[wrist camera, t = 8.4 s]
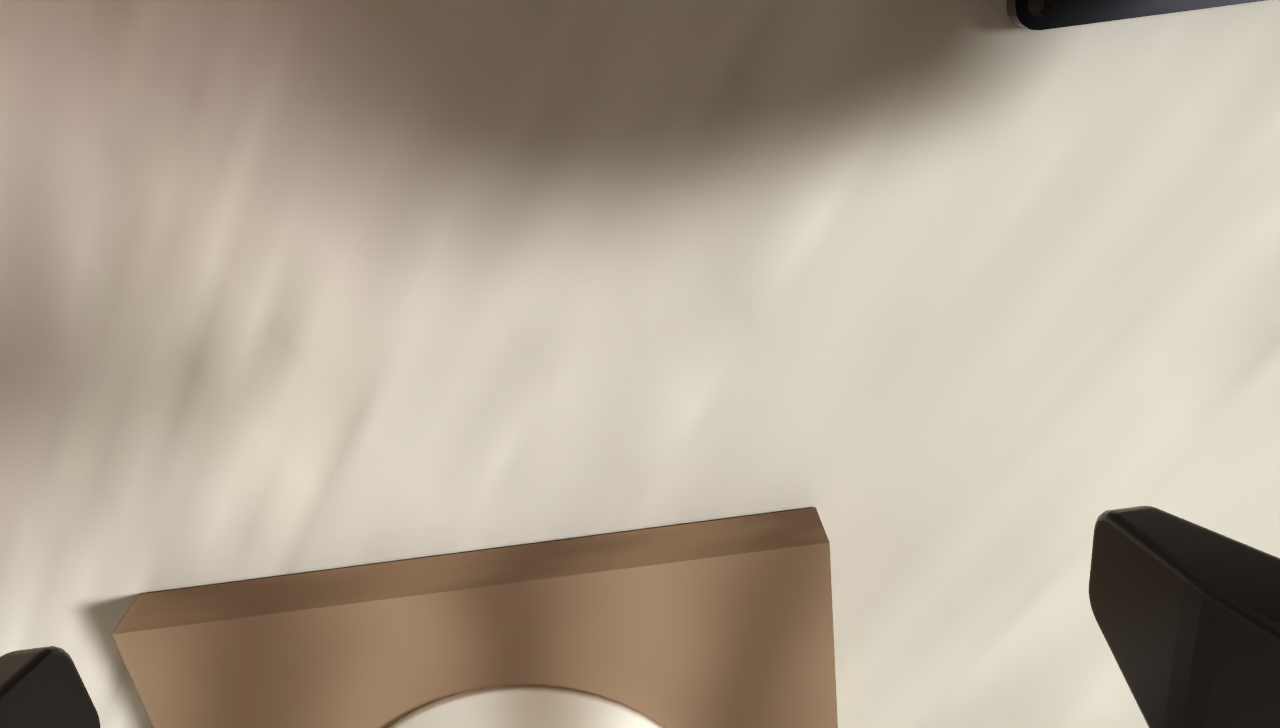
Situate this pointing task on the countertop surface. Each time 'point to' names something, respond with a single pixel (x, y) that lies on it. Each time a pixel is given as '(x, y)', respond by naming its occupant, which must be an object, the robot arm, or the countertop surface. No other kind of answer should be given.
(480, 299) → the countertop surface
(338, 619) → the walnut board
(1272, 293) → the countertop surface
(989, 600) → the countertop surface
